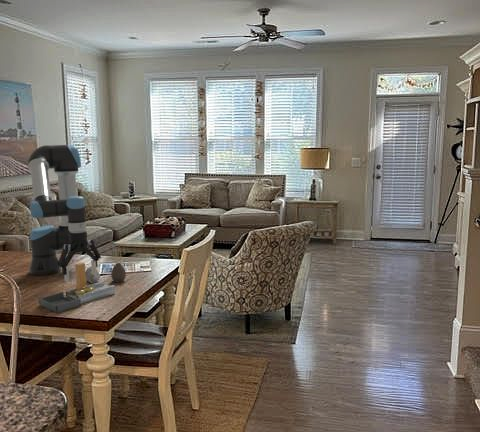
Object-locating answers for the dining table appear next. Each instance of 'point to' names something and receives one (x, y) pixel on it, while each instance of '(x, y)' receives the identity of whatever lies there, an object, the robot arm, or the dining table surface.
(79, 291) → the gold domed disc
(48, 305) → the tray
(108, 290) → the slot rail
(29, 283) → the dining table surface
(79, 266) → the orange l-shaped bar
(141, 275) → the dining table surface
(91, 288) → the gold domed disc
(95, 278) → the mineral specimen
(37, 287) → the dining table surface
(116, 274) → the vase
